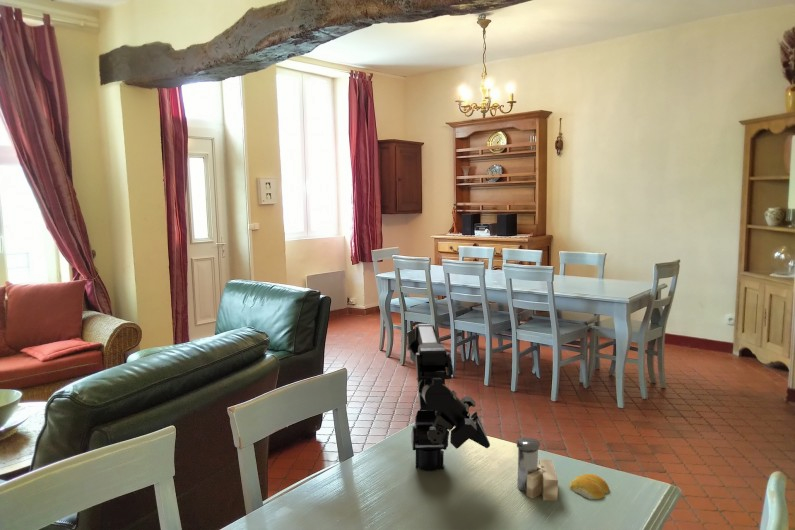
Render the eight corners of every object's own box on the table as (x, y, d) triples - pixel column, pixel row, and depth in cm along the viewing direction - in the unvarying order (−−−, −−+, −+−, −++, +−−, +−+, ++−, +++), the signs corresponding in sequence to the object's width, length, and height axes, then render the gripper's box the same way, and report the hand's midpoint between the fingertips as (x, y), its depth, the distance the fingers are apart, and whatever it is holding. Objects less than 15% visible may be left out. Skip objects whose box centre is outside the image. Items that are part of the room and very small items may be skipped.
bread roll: (613, 492, 133) (614, 475, 132) (597, 507, 126) (598, 490, 126) (580, 480, 138) (580, 464, 138) (562, 494, 132) (563, 477, 131)
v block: (527, 499, 127) (527, 478, 126) (523, 477, 137) (523, 458, 136) (557, 501, 126) (557, 480, 125) (551, 479, 136) (551, 459, 135)
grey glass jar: (516, 492, 129) (517, 446, 128) (514, 481, 135) (515, 436, 133) (539, 494, 129) (541, 447, 128) (537, 482, 134) (538, 438, 133)
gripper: (419, 406, 143) (463, 451, 143) (413, 437, 124) (463, 488, 124) (451, 377, 141) (496, 422, 141) (449, 404, 122) (500, 456, 122)
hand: (488, 446), depth 132 cm, fingers closed
